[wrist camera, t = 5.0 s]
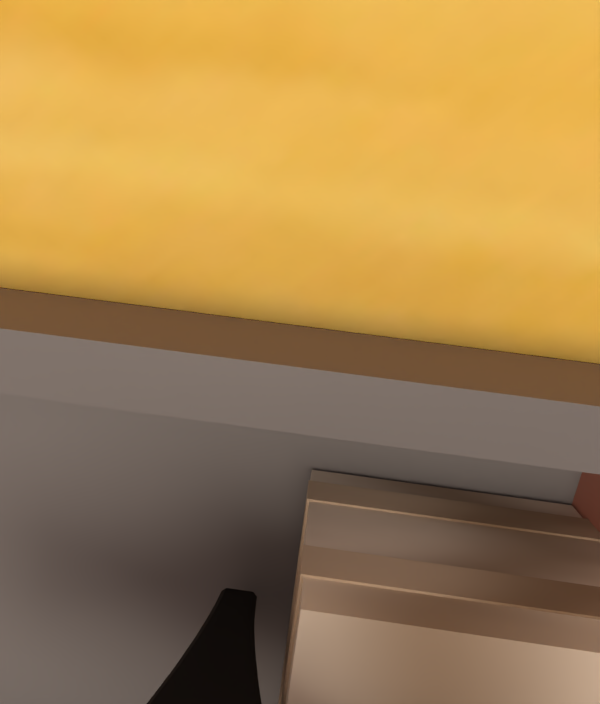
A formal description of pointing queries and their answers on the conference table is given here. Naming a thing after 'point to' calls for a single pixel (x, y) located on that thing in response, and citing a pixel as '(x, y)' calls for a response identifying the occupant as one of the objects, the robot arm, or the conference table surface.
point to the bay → (228, 470)
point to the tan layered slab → (441, 598)
